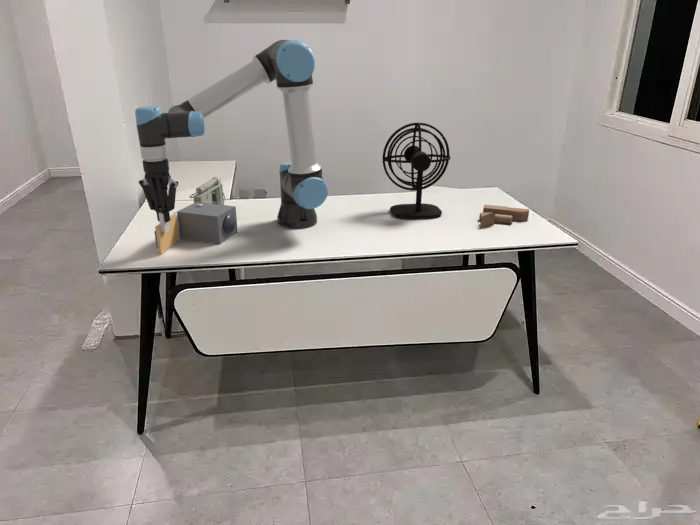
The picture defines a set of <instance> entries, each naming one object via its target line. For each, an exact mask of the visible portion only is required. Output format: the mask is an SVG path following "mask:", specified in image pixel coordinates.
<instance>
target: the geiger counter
mask: <svg viewBox="0 0 700 525" xmlns="http://www.w3.org/2000/svg"><path fill="white" fill-rule="evenodd" d="M189 199H193V203H195V202H202V203H210V204H219V205H225V202H226V196H225V193H224V188H223V183H222V178H221V177H220V176H219V175H215V176H213V177H212V178H211V179H210V180H208V181H206V182H205V183H203V184H202V185H199V186H197V187H196V189H195V193H192V194H191V195H189Z"/></svg>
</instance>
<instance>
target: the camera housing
mask: <svg viewBox="0 0 700 525" xmlns="http://www.w3.org/2000/svg"><path fill="white" fill-rule="evenodd" d="M176 212H177V216H178V224H179V232H180V238H179V239H180V240H186V241H194V242H200V243H201V242H202V243H208V244H215V245H221V244H223V243H225V242H227V240H229V239H231V238H233V237H234V236H235V235H237V234H238V233H239V231H238V220H237V208H236V205H235V206H233V205H228V204H227V205H226V204H224V205H219V204H210V203H202V202H195V203H194V202H193V203H192V204H190V205H188V206H186V207H183V208H181V209H179V210H177V211H176Z"/></svg>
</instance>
